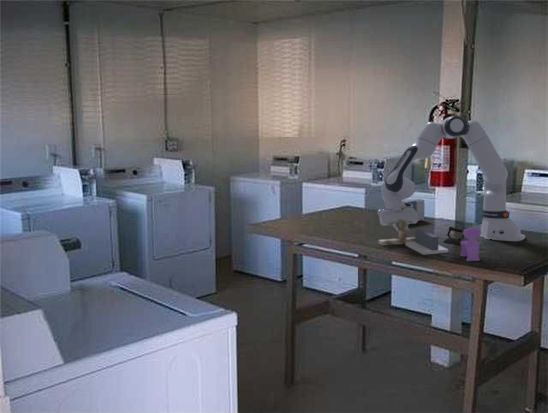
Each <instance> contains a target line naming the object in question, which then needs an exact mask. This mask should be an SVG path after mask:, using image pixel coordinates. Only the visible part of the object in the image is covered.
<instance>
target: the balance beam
mask: <svg viewBox="0 0 548 413" xmlns="http://www.w3.org/2000/svg"><path fill="white" fill-rule="evenodd" d="M397 226H398V227H400V231H397V232H398V233H397V234H398V236H397V238H388V239H387V238H386V239H378V245H380V246H393V245H404V244H405V242H415V236H414V237H413V236H411V237H407V231H406V220H405V219H399V220H398V225H397Z"/></svg>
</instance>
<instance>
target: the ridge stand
mask: <svg viewBox="0 0 548 413" xmlns="http://www.w3.org/2000/svg"><path fill="white" fill-rule="evenodd" d="M414 237H415V242H405V247H408V248H409V249H412V250H413V251H415V252H417V253H419V254H421V255H422V256H423V255H424V256H425V255H435V254H445V253H446V254H447V253H449V249H448V248H447V247H445V246H442V245H440V244H439V236H438V235H436V234H433V233H431V232H429V231H426V230H424V229H423V228H418V229H416V228H415V229H414Z"/></svg>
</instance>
